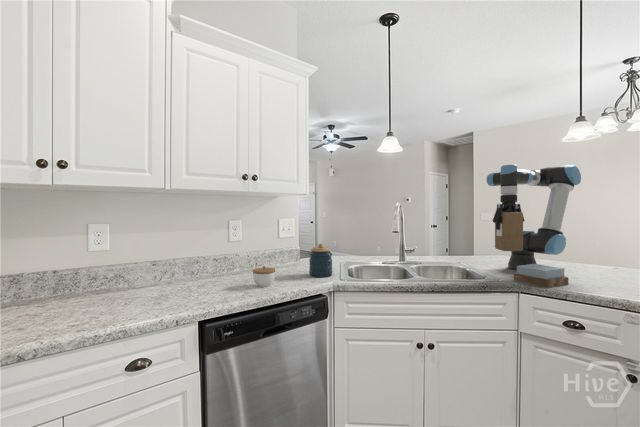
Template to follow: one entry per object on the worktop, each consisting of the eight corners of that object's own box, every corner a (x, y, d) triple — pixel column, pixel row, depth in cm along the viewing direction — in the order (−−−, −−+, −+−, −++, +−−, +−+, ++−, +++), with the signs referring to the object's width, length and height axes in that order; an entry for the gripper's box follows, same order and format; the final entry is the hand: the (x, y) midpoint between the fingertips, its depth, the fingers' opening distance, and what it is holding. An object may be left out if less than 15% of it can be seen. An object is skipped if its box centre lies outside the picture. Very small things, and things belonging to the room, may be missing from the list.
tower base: (534, 278, 162) (534, 271, 162) (568, 285, 148) (568, 277, 148) (513, 281, 156) (513, 273, 156) (546, 288, 142) (547, 280, 142)
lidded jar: (264, 289, 141) (264, 269, 141) (248, 286, 147) (247, 266, 146) (279, 284, 150) (279, 265, 150) (263, 281, 156) (263, 263, 156)
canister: (327, 272, 179) (327, 242, 179) (335, 276, 167) (335, 244, 167) (306, 273, 175) (306, 242, 175) (313, 278, 163) (312, 245, 163)
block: (513, 248, 165) (513, 211, 165) (524, 251, 155) (524, 212, 155) (494, 248, 166) (494, 211, 166) (503, 251, 156) (503, 212, 156)
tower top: (534, 271, 161) (534, 263, 161) (564, 276, 148) (564, 268, 148) (516, 273, 156) (516, 265, 156) (546, 279, 143) (546, 270, 143)
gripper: (518, 195, 168) (518, 234, 168) (484, 194, 160) (484, 235, 160) (532, 194, 161) (532, 235, 161) (497, 194, 153) (497, 237, 153)
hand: (508, 235), depth 160 cm, fingers closed on block, 12 cm apart
